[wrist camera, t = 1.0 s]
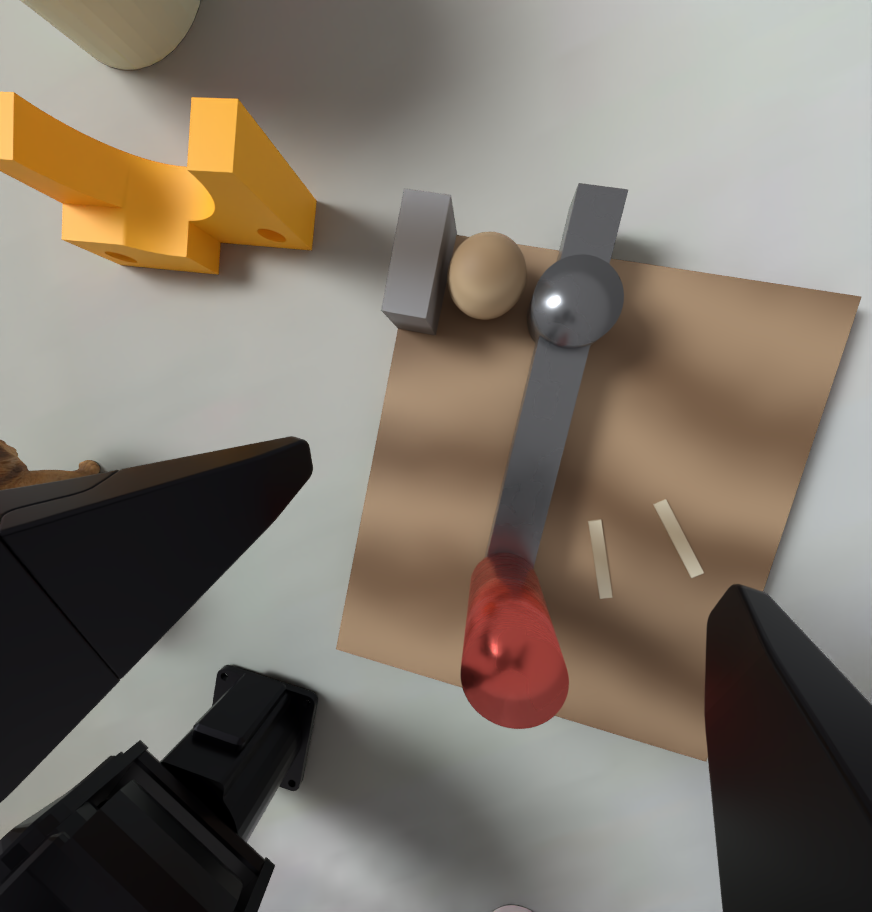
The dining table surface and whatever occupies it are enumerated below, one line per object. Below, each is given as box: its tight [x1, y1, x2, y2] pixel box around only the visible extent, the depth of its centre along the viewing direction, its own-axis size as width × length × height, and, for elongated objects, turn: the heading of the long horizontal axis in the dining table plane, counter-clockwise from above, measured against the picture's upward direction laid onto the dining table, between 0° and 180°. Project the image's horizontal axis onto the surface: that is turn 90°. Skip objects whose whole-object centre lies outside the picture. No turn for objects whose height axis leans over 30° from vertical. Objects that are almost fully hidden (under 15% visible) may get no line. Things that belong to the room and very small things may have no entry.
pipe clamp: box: [0, 92, 317, 274], centre depth 18 cm, size 12×4×6 cm, turn 82°
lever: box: [460, 183, 628, 729], centre depth 14 cm, size 19×4×8 cm, turn 168°
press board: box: [336, 189, 861, 761], centre depth 17 cm, size 23×20×4 cm
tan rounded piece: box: [447, 232, 527, 320], centre depth 16 cm, size 4×4×4 cm
